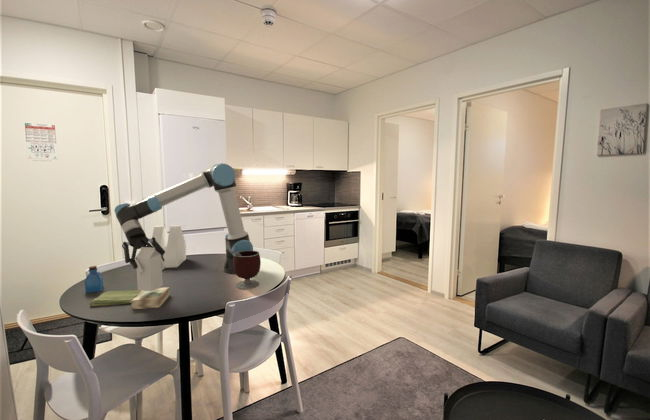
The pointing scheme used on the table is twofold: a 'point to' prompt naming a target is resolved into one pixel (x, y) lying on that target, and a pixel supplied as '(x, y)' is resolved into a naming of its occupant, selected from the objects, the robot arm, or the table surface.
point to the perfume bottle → (93, 280)
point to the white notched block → (171, 244)
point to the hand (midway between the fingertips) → (152, 270)
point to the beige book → (150, 298)
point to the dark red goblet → (246, 268)
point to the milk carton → (149, 269)
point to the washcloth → (115, 298)
